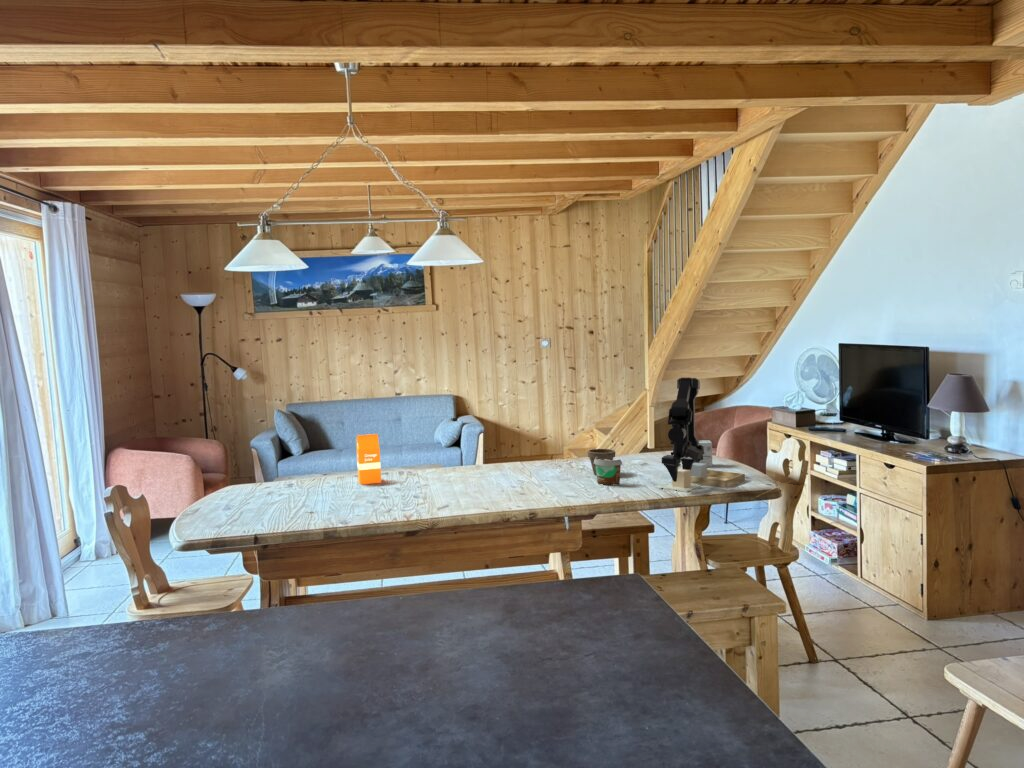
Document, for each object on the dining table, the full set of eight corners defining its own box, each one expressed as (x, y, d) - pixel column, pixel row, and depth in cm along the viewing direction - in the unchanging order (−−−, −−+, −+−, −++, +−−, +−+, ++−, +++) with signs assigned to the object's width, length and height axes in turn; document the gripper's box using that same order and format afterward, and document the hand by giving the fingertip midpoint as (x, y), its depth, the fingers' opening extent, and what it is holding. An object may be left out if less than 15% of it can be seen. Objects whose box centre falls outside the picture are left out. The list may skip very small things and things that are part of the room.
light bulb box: (710, 464, 332) (710, 439, 331) (712, 467, 325) (712, 442, 324) (685, 464, 333) (685, 440, 332) (687, 467, 326) (687, 442, 325)
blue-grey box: (689, 479, 299) (689, 464, 299) (695, 477, 303) (695, 462, 302) (700, 481, 296) (700, 465, 295) (706, 478, 300) (706, 463, 299)
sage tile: (661, 488, 287) (661, 487, 287) (675, 483, 295) (675, 481, 295) (687, 492, 280) (687, 490, 280) (701, 486, 288) (701, 485, 288)
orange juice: (381, 482, 318) (379, 435, 316) (360, 484, 315) (357, 436, 313) (378, 478, 325) (376, 432, 324) (358, 480, 322) (355, 434, 321)
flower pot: (613, 471, 324) (612, 447, 323) (618, 476, 312) (617, 452, 312) (586, 472, 324) (585, 448, 323) (590, 477, 312) (589, 453, 311)
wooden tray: (675, 482, 297) (674, 474, 297) (694, 475, 309) (694, 468, 309) (726, 488, 283) (726, 480, 283) (744, 481, 295) (744, 473, 294)
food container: (587, 483, 301) (587, 458, 300) (597, 480, 305) (596, 456, 305) (613, 487, 292) (612, 461, 292) (622, 484, 297) (622, 459, 296)
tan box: (672, 486, 287) (671, 470, 287) (679, 484, 291) (678, 468, 291) (683, 488, 284) (683, 472, 283) (690, 485, 288) (690, 469, 287)
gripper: (687, 443, 274) (688, 486, 275) (711, 436, 288) (712, 477, 289) (660, 441, 281) (661, 482, 283) (685, 434, 295) (686, 474, 296)
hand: (681, 479), depth 287 cm, fingers open, 9 cm apart
